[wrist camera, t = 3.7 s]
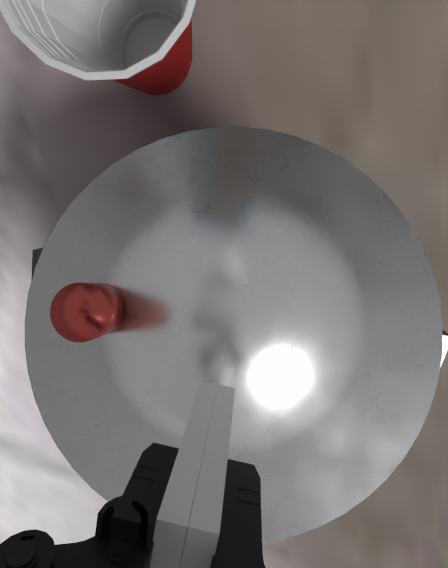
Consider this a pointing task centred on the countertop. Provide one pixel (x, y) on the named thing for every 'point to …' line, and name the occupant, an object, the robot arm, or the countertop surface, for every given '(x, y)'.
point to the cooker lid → (237, 319)
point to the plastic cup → (109, 38)
